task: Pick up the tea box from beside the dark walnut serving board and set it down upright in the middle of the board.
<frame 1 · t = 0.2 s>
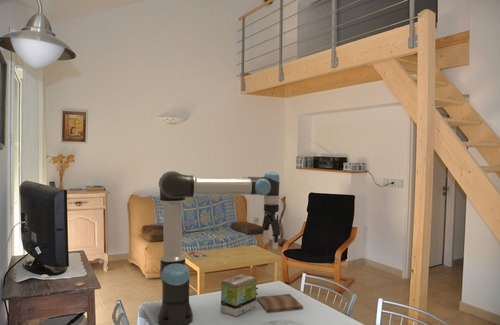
hand: (270, 245, 202), 28 cm above the table, fingers open, 13 cm apart
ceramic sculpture: (244, 295, 210), on the table
tea box: (238, 310, 190), on the table
walnut board: (279, 304, 197), on the table
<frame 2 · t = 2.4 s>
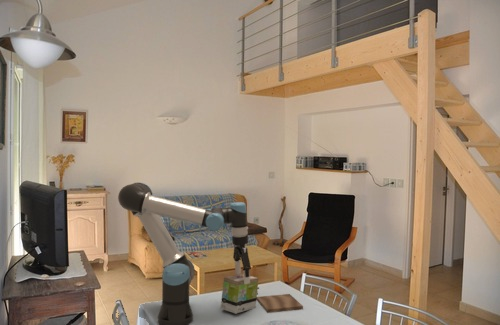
hand: (242, 279, 190), 14 cm above the table, fingers open, 14 cm apart
tea box: (238, 309, 190), on the table, touching gripper
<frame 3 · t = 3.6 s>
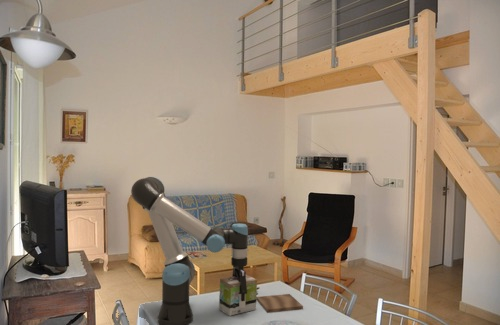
hand: (238, 302, 190), 3 cm above the table, fingers closed on tea box, 12 cm apart
tea box: (237, 310, 189), on the table, touching gripper
everything else where it was.
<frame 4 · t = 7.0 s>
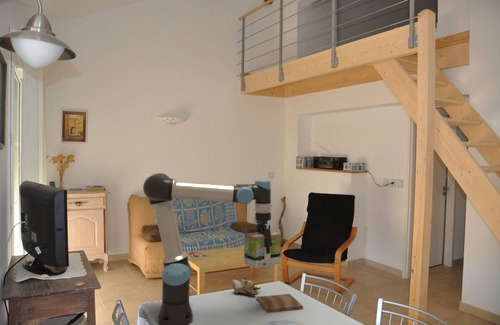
hand: (263, 257, 193), 24 cm above the table, fingers closed on tea box, 11 cm apart
tea box: (262, 264, 193), point 21 cm above the table, touching gripper
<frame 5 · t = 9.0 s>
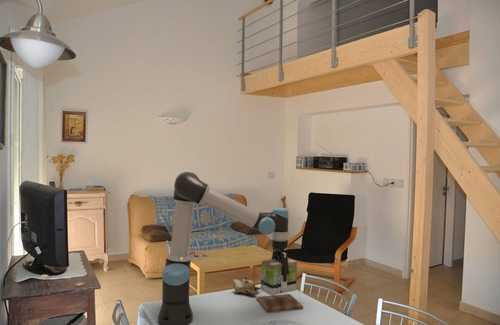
hand: (279, 283, 197), 10 cm above the table, fingers closed on tea box, 11 cm apart
tea box: (278, 291, 197), point 7 cm above the table, touching gripper
when the fingers open (6 cm above the table, at t = 10.5 s): tea box stays where it is, resting on walnut board.
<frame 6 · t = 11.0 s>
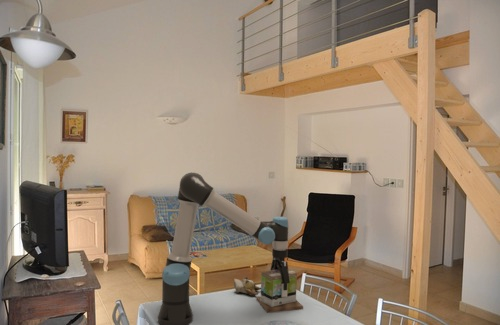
hand: (279, 291, 197), 6 cm above the table, fingers open, 13 cm apart
tea box: (278, 301, 197), point 1 cm above the table, touching walnut board
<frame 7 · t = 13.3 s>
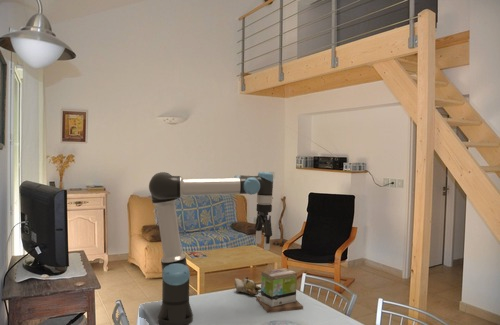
hand: (262, 246, 197), 28 cm above the table, fingers open, 13 cm apart
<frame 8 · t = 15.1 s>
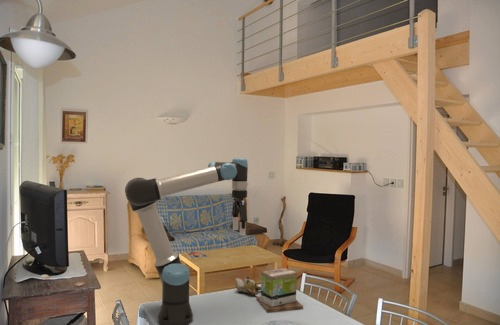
hand: (238, 232, 198), 35 cm above the table, fingers open, 13 cm apart
at the end: tea box 0.5 cm off-centre on the walnut board, point 1.3 cm above the walnut board's base; tea box tilted 0°; the gripper is holding nothing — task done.
